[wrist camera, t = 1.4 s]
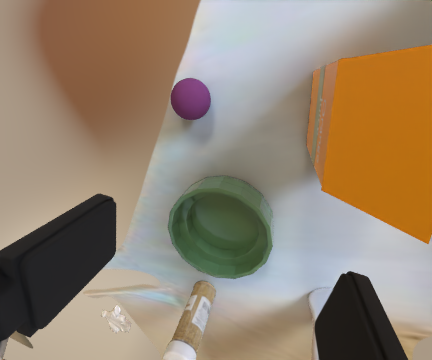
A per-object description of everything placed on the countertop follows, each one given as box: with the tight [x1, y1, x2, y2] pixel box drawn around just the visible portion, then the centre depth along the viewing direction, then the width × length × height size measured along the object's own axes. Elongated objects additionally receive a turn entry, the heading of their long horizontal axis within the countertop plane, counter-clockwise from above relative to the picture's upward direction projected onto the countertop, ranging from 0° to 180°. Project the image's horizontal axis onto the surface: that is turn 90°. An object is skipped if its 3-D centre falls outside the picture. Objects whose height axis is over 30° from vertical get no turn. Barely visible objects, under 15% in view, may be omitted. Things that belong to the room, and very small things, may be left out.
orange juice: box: [306, 45, 432, 244], centre depth 18 cm, size 8×9×20 cm
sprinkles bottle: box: [163, 281, 216, 360], centre depth 38 cm, size 5×5×14 cm
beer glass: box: [308, 288, 333, 360], centre depth 31 cm, size 7×7×15 cm
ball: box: [171, 78, 211, 120], centre depth 29 cm, size 5×5×5 cm
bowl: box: [168, 176, 274, 279], centre depth 35 cm, size 15×15×5 cm
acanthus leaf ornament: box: [101, 305, 131, 333], centre depth 55 cm, size 8×7×2 cm
